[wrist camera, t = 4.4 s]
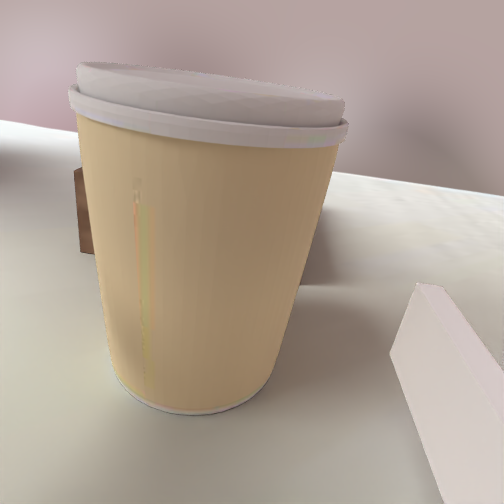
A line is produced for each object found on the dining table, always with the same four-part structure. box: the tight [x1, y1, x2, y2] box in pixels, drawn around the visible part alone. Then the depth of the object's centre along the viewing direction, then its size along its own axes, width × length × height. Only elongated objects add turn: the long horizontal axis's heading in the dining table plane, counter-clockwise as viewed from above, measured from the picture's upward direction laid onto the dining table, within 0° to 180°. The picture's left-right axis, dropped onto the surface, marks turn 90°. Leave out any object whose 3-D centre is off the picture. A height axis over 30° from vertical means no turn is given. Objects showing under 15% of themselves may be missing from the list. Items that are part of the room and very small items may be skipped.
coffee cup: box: [68, 62, 349, 415], centre depth 16 cm, size 9×9×12 cm
